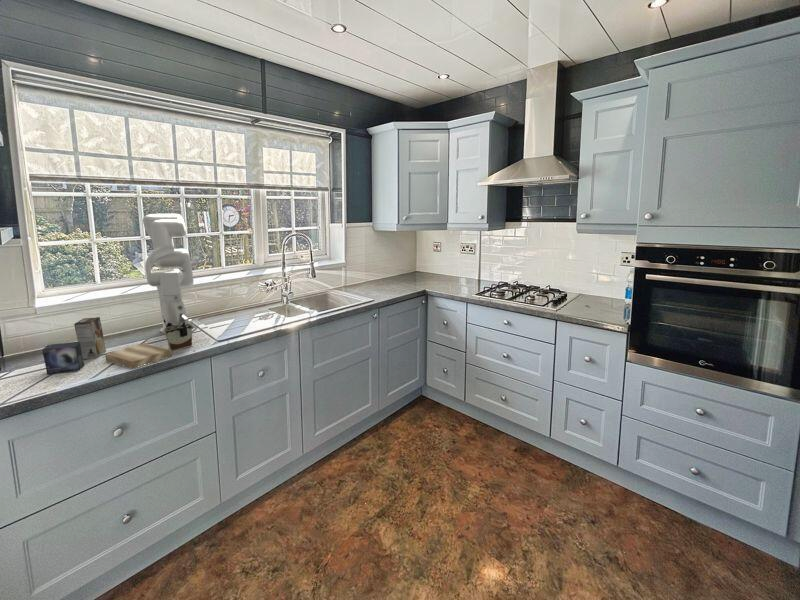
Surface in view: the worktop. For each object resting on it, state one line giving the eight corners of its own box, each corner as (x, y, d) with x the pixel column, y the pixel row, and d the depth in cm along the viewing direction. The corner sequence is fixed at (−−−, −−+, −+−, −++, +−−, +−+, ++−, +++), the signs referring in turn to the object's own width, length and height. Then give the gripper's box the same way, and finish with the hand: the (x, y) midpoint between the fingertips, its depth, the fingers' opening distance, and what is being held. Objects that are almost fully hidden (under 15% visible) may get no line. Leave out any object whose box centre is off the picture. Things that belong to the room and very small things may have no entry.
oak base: (145, 349, 183) (144, 342, 182) (172, 356, 173) (171, 349, 173) (106, 360, 169) (105, 353, 168) (133, 368, 160) (132, 361, 159)
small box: (46, 375, 154) (40, 349, 152) (52, 369, 160) (47, 344, 158) (80, 370, 158) (75, 345, 156) (85, 365, 164) (80, 340, 162)
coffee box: (89, 352, 179) (83, 318, 175) (106, 351, 180) (100, 316, 177) (80, 359, 170) (73, 323, 166) (98, 358, 172) (91, 322, 168)
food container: (189, 342, 192) (186, 322, 190) (195, 344, 188) (192, 324, 186) (161, 349, 182) (158, 328, 180) (167, 351, 179) (164, 330, 176)
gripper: (192, 298, 179) (196, 335, 183) (168, 295, 187) (173, 330, 191) (176, 301, 173) (181, 339, 176) (152, 298, 181) (157, 335, 184)
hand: (177, 335), depth 183 cm, fingers open, 9 cm apart
